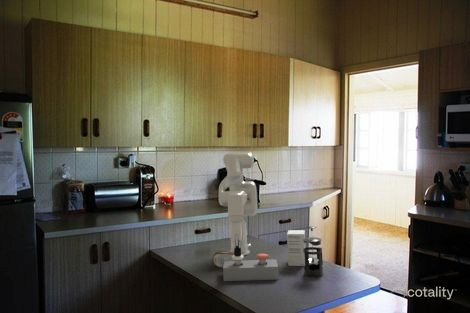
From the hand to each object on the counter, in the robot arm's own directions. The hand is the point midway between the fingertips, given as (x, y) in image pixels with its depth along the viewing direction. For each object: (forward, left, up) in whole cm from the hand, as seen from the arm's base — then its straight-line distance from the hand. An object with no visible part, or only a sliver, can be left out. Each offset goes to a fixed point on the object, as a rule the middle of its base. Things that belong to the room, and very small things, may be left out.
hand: (237, 255), depth 189 cm
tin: (-9, -14, -11) cm, 20 cm away
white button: (0, 0, -5) cm, 5 cm away
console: (-4, +5, -10) cm, 12 cm away
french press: (-22, +30, -11) cm, 38 cm away
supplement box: (-33, +15, -11) cm, 37 cm away
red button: (-7, +10, -5) cm, 13 cm away
